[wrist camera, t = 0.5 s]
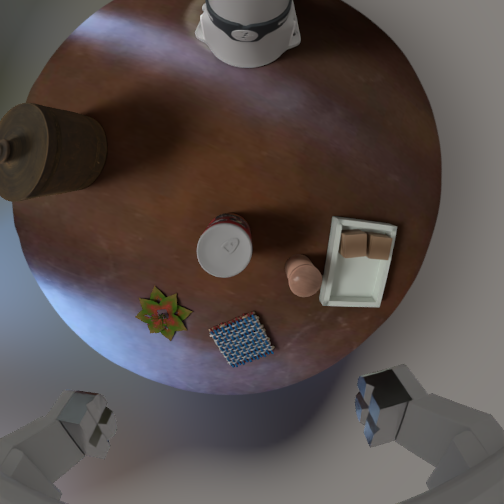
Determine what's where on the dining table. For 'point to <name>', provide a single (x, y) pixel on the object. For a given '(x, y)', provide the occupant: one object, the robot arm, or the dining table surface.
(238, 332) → the woven mat
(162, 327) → the lily flower
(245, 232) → the canned food
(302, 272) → the pink lidded jar
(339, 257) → the tray
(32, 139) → the wooden container
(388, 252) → the block
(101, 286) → the dining table surface
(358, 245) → the block
